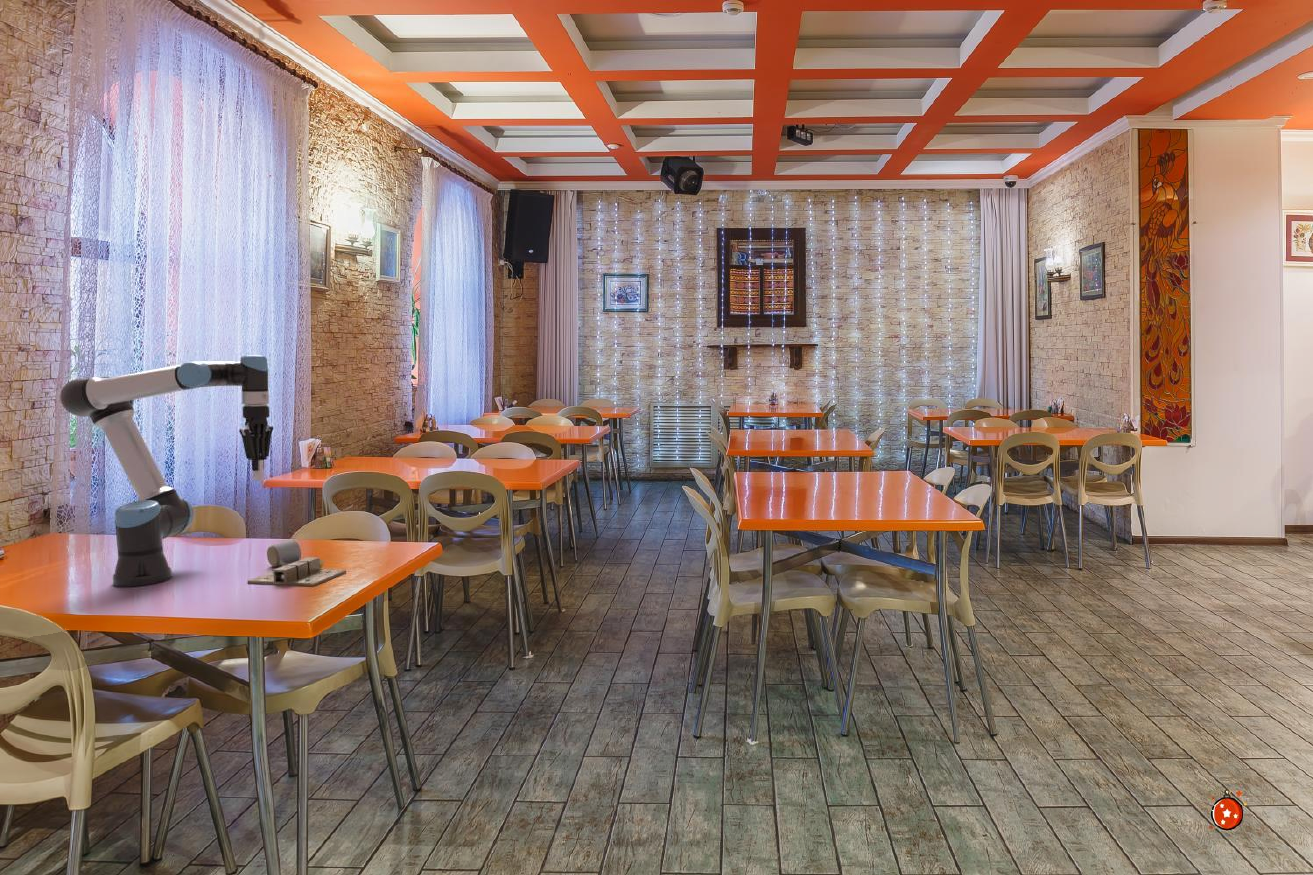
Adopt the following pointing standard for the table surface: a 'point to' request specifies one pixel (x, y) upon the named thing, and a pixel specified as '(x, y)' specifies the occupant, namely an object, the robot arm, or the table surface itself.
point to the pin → (296, 568)
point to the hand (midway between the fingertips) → (258, 480)
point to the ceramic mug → (284, 553)
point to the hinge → (299, 574)
